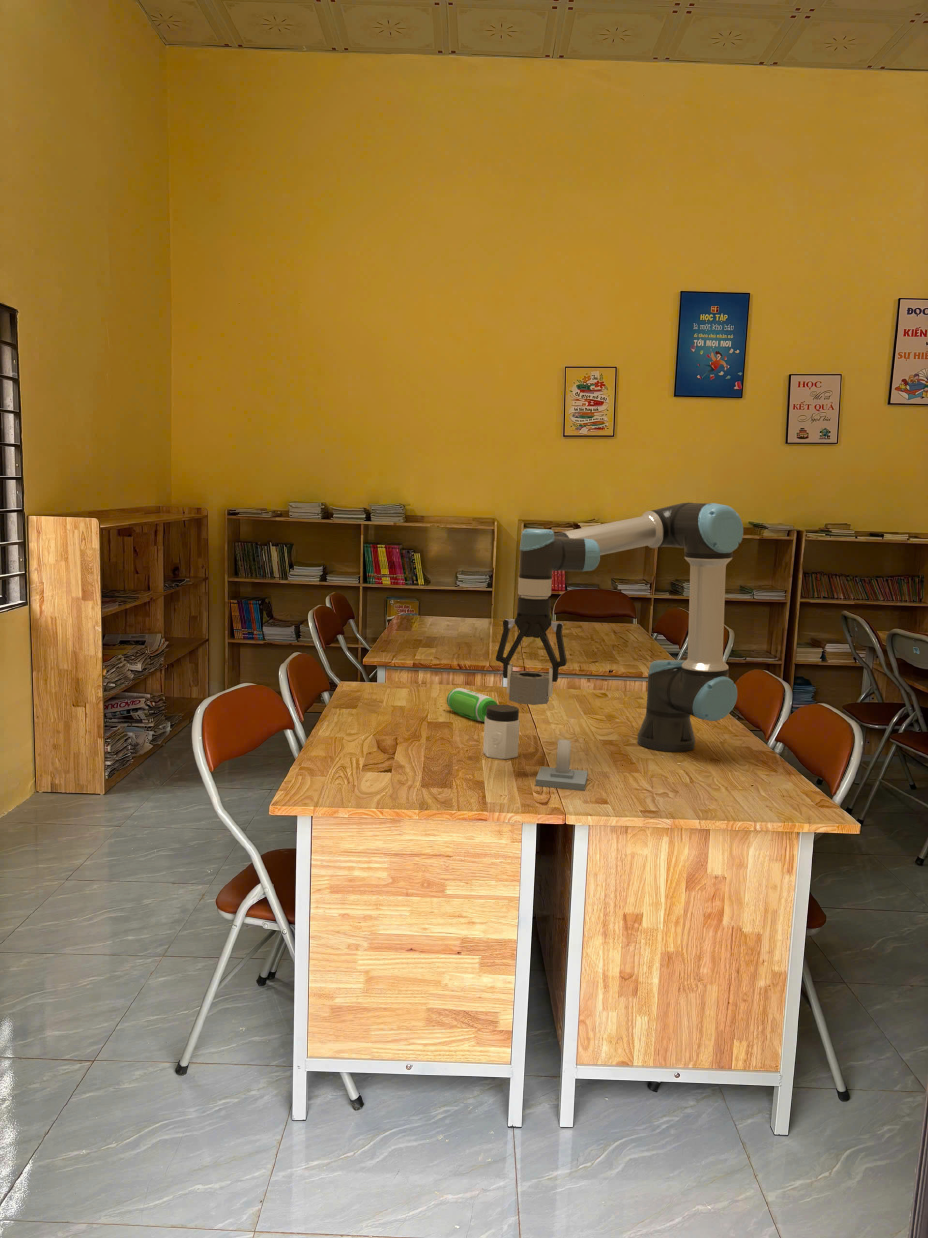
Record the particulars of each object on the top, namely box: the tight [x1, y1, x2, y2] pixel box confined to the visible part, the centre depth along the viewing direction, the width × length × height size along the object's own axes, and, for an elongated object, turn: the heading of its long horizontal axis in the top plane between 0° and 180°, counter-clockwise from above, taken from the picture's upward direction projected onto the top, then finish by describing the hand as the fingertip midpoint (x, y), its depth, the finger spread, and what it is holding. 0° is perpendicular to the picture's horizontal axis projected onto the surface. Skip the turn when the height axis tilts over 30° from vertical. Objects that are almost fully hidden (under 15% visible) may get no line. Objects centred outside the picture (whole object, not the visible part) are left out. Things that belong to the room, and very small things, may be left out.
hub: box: [508, 670, 550, 706], centre depth 227 cm, size 9×9×6 cm
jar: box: [482, 704, 521, 760], centre depth 245 cm, size 9×8×12 cm
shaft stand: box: [534, 738, 589, 791], centre depth 224 cm, size 11×11×10 cm
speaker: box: [446, 687, 499, 723], centre depth 285 cm, size 18×7×8 cm, turn 35°
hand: (529, 693), depth 227 cm, fingers closed on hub, 9 cm apart
